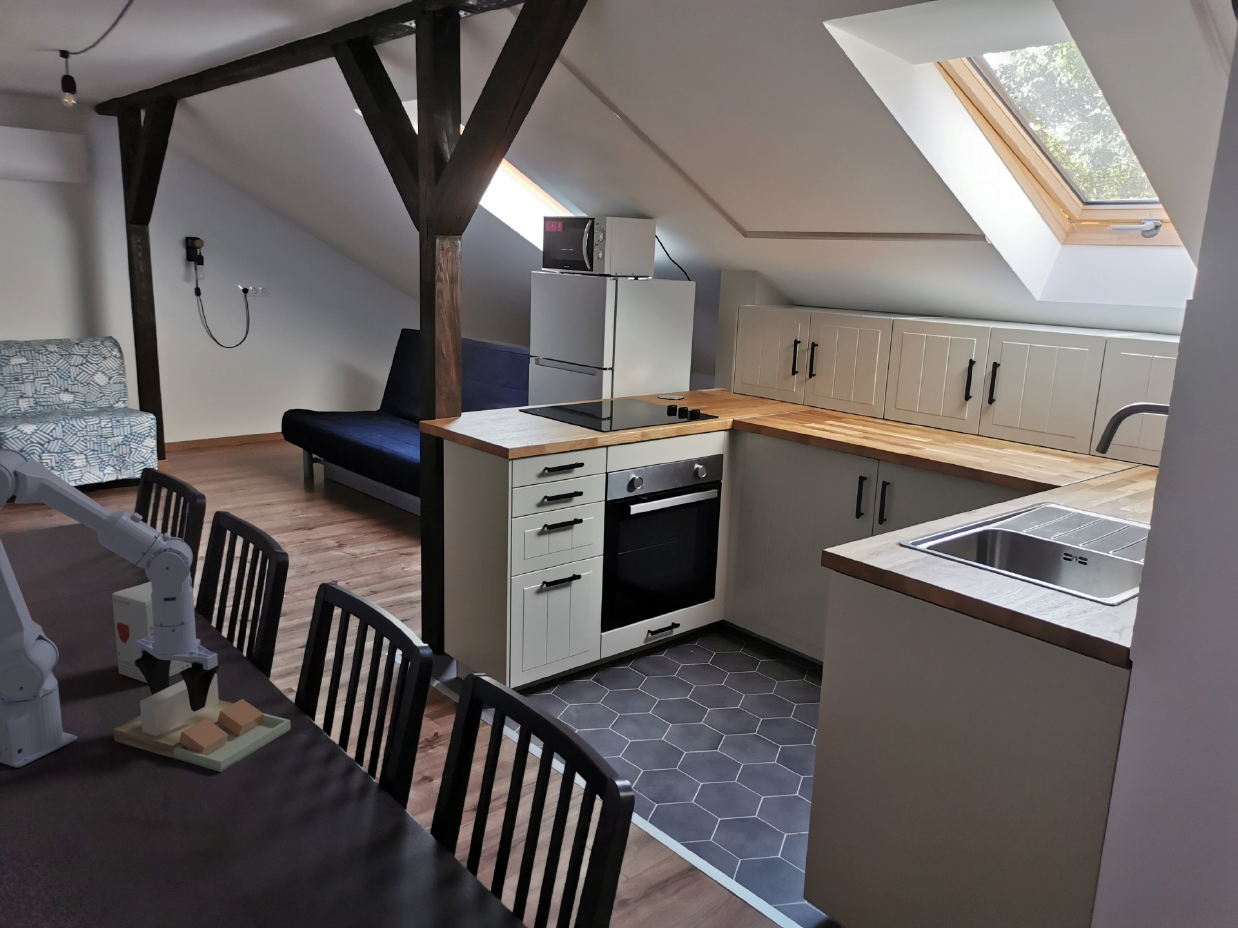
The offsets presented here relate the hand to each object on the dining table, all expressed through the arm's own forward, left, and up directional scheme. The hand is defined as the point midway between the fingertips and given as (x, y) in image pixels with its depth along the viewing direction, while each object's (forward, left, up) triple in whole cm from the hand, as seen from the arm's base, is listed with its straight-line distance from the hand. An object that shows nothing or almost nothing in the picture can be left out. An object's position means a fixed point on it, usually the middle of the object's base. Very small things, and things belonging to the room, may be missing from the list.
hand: (179, 703), depth 145 cm
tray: (0, -11, -4) cm, 11 cm away
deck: (0, 0, -4) cm, 4 cm away
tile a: (-4, -8, -3) cm, 9 cm away
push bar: (0, 0, -2) cm, 2 cm away
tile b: (+4, -8, -3) cm, 9 cm away
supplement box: (+14, +21, -5) cm, 26 cm away
